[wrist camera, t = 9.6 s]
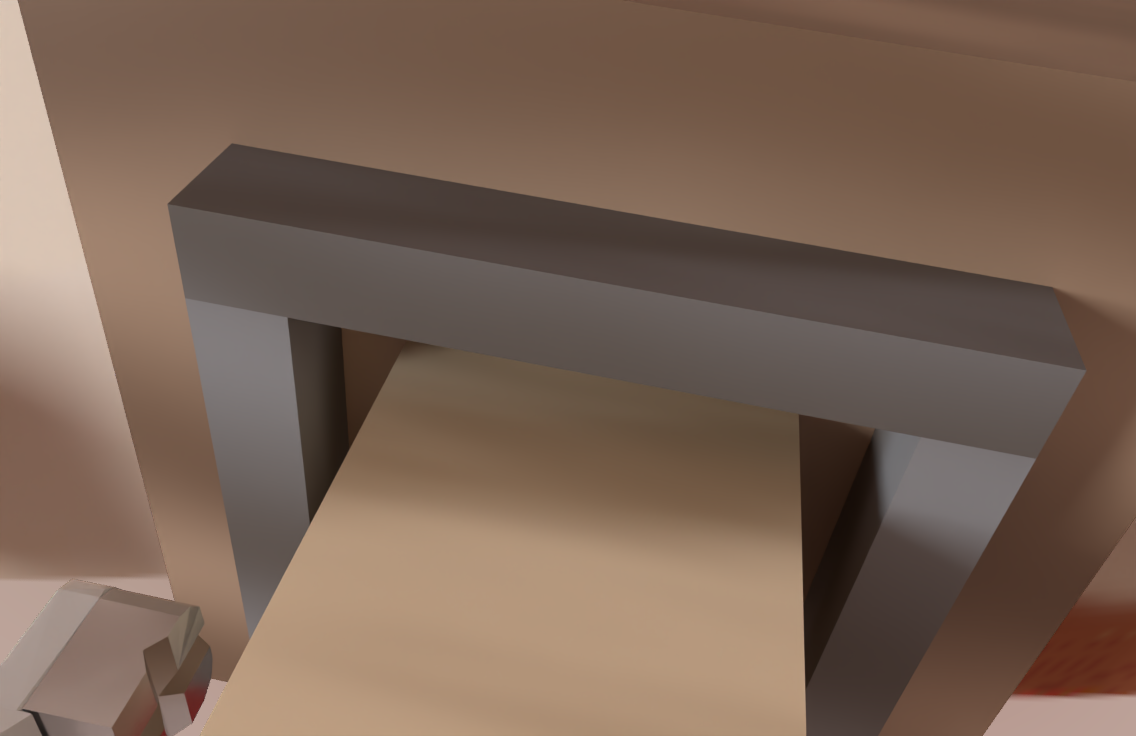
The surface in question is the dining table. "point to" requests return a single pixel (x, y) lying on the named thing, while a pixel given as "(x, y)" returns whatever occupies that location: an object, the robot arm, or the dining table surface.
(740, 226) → the base block
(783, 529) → the maple brick
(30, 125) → the dining table surface
